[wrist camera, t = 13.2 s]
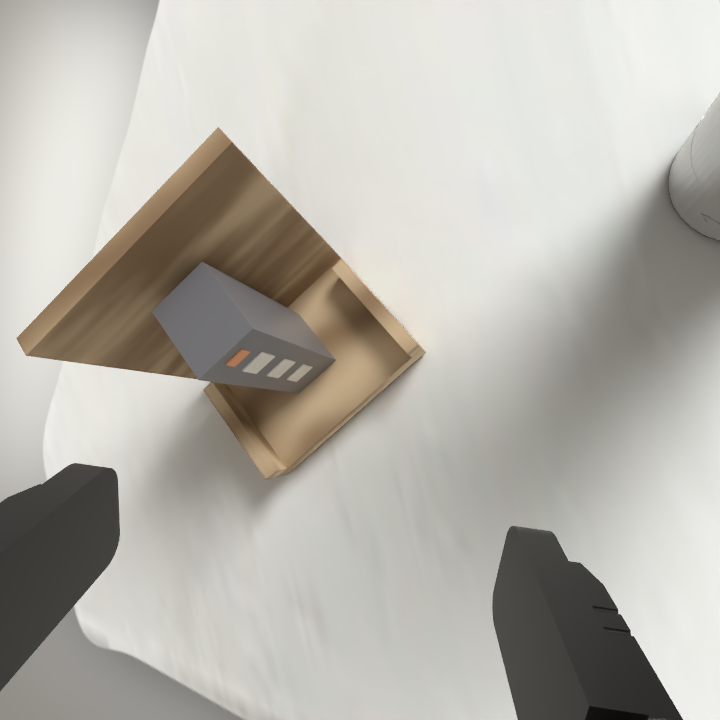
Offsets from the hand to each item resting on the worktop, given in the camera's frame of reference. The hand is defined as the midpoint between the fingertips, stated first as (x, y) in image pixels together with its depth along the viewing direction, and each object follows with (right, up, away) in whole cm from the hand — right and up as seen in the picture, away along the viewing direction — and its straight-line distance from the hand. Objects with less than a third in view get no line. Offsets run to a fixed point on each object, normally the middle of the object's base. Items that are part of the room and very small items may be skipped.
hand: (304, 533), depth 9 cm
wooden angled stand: (-2, +3, +29) cm, 29 cm away
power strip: (-4, +4, +27) cm, 28 cm away
